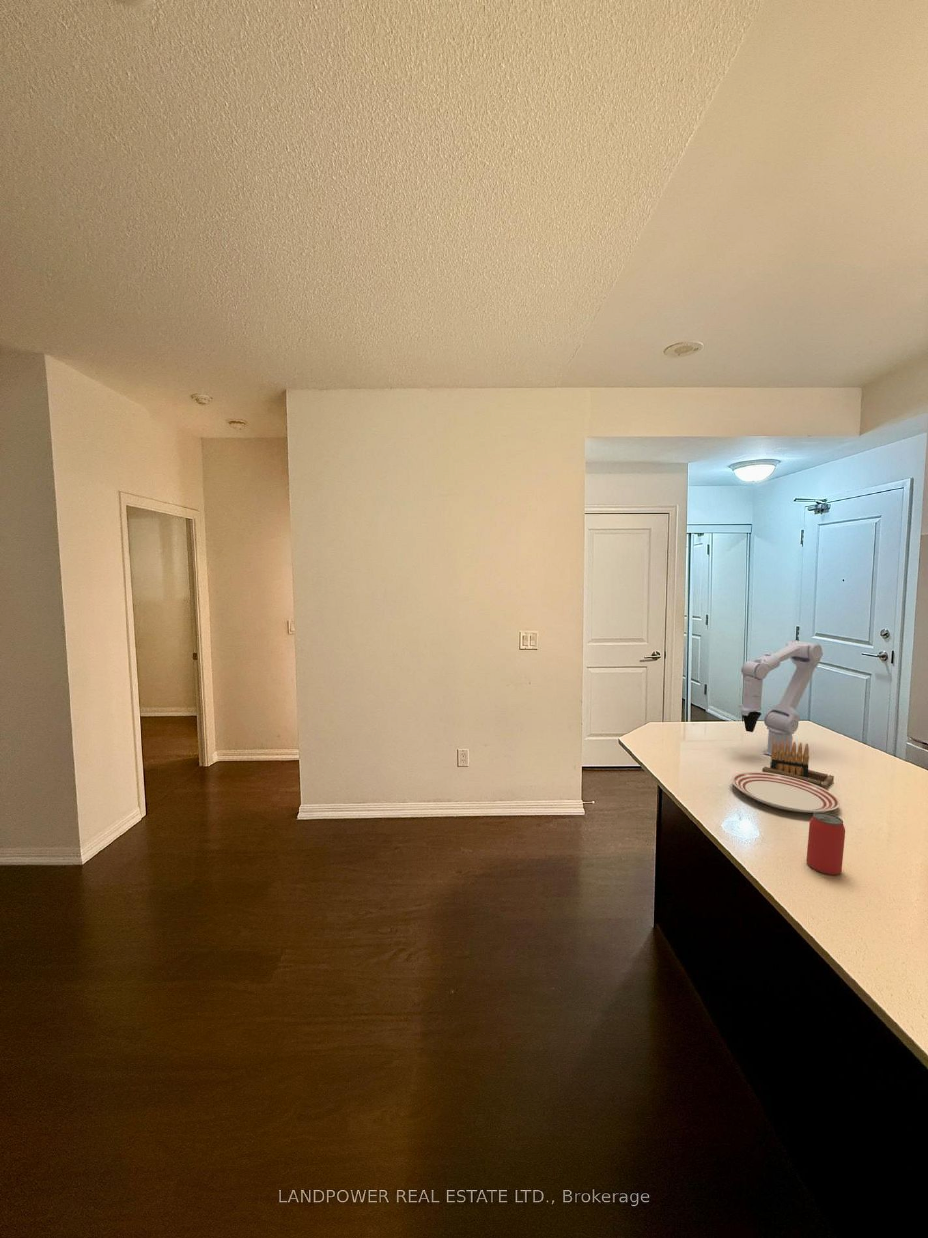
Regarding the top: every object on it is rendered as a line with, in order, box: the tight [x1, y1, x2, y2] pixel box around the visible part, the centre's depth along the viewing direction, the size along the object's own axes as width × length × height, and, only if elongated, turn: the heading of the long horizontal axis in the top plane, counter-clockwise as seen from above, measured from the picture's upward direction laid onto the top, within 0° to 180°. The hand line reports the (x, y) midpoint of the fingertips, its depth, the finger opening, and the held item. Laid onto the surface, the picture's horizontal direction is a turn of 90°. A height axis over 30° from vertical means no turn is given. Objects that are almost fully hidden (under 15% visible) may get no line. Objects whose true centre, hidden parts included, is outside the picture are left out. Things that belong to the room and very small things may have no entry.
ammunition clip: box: [769, 739, 810, 778], centre depth 164 cm, size 11×2×12 cm, turn 64°
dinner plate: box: [731, 771, 841, 814], centre depth 148 cm, size 27×27×3 cm
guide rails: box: [761, 761, 835, 791], centre depth 163 cm, size 11×18×2 cm, turn 42°
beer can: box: [805, 812, 846, 876], centre depth 112 cm, size 7×7×12 cm
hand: (749, 731), depth 178 cm, fingers closed
